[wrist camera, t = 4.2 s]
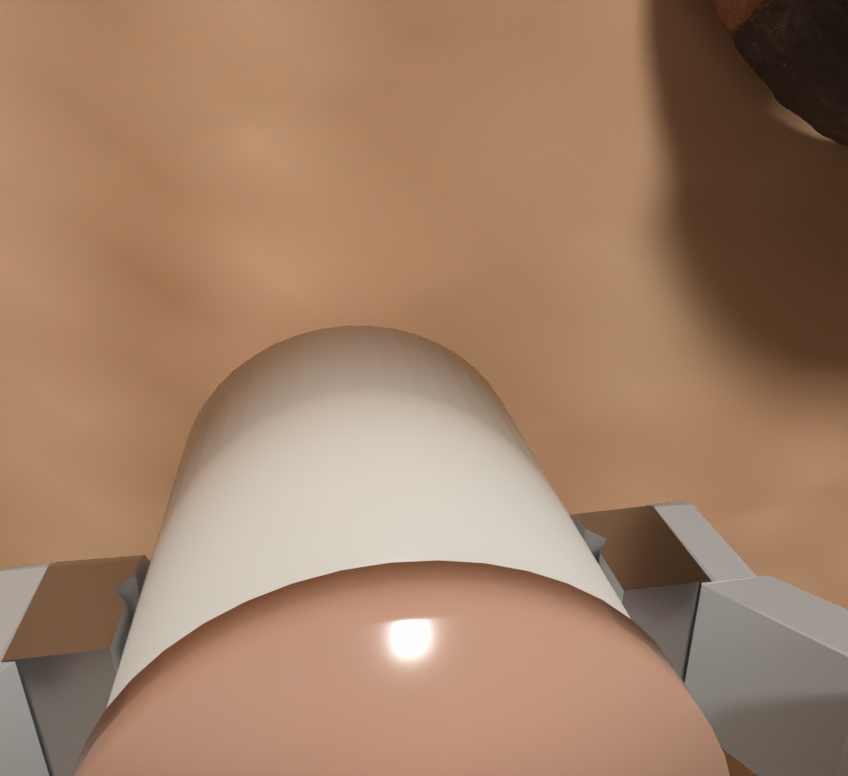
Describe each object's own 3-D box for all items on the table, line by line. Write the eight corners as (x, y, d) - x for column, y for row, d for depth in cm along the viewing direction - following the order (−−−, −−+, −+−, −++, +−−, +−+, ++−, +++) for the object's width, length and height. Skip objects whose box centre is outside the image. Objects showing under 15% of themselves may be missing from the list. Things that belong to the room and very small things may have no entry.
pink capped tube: (145, 331, 10) (-51, 673, 4) (532, 307, 10) (789, 577, 5) (199, 641, 12) (113, 1137, 6) (518, 605, 12) (687, 1023, 7)
